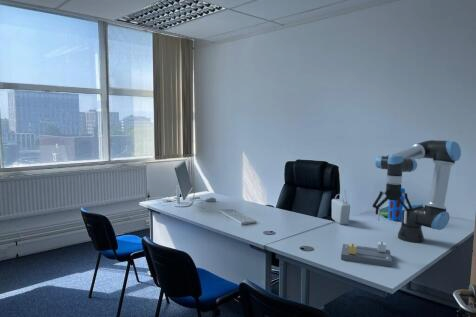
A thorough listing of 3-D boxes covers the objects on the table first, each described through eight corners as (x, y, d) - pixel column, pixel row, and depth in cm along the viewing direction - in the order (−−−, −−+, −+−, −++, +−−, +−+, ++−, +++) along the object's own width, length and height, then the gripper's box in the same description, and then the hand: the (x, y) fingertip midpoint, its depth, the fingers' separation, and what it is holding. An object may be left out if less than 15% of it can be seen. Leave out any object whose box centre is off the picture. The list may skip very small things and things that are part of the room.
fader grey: (385, 249, 195) (385, 242, 194) (385, 252, 190) (386, 244, 190) (377, 248, 196) (377, 241, 196) (377, 251, 191) (378, 243, 191)
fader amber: (356, 251, 190) (356, 244, 190) (356, 254, 186) (356, 246, 185) (348, 250, 192) (348, 243, 191) (348, 253, 187) (348, 245, 187)
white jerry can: (351, 225, 254) (353, 191, 252) (340, 225, 254) (342, 191, 251) (340, 218, 276) (342, 186, 274) (330, 218, 275) (331, 186, 273)
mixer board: (389, 255, 196) (389, 249, 195) (391, 266, 179) (392, 261, 179) (342, 249, 204) (343, 243, 204) (340, 259, 187) (341, 254, 187)
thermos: (404, 221, 269) (406, 189, 266) (389, 220, 271) (391, 188, 268) (401, 218, 279) (402, 187, 277) (386, 217, 281) (388, 186, 279)
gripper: (418, 184, 190) (415, 222, 192) (369, 180, 198) (367, 217, 200) (420, 186, 183) (417, 225, 185) (369, 182, 191) (367, 220, 192)
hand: (391, 221), depth 192 cm, fingers open, 13 cm apart
